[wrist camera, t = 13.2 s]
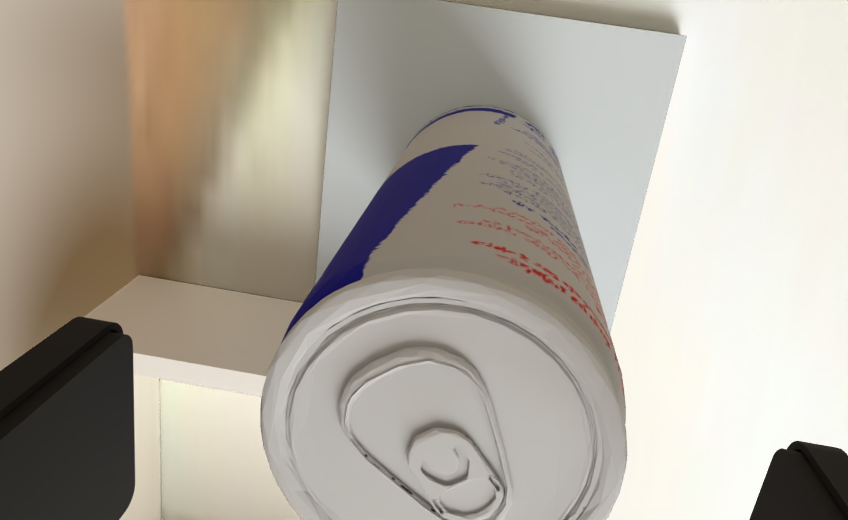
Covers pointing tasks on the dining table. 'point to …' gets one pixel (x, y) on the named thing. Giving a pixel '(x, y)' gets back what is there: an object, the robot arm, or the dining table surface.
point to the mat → (504, 88)
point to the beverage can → (453, 347)
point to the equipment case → (189, 355)
